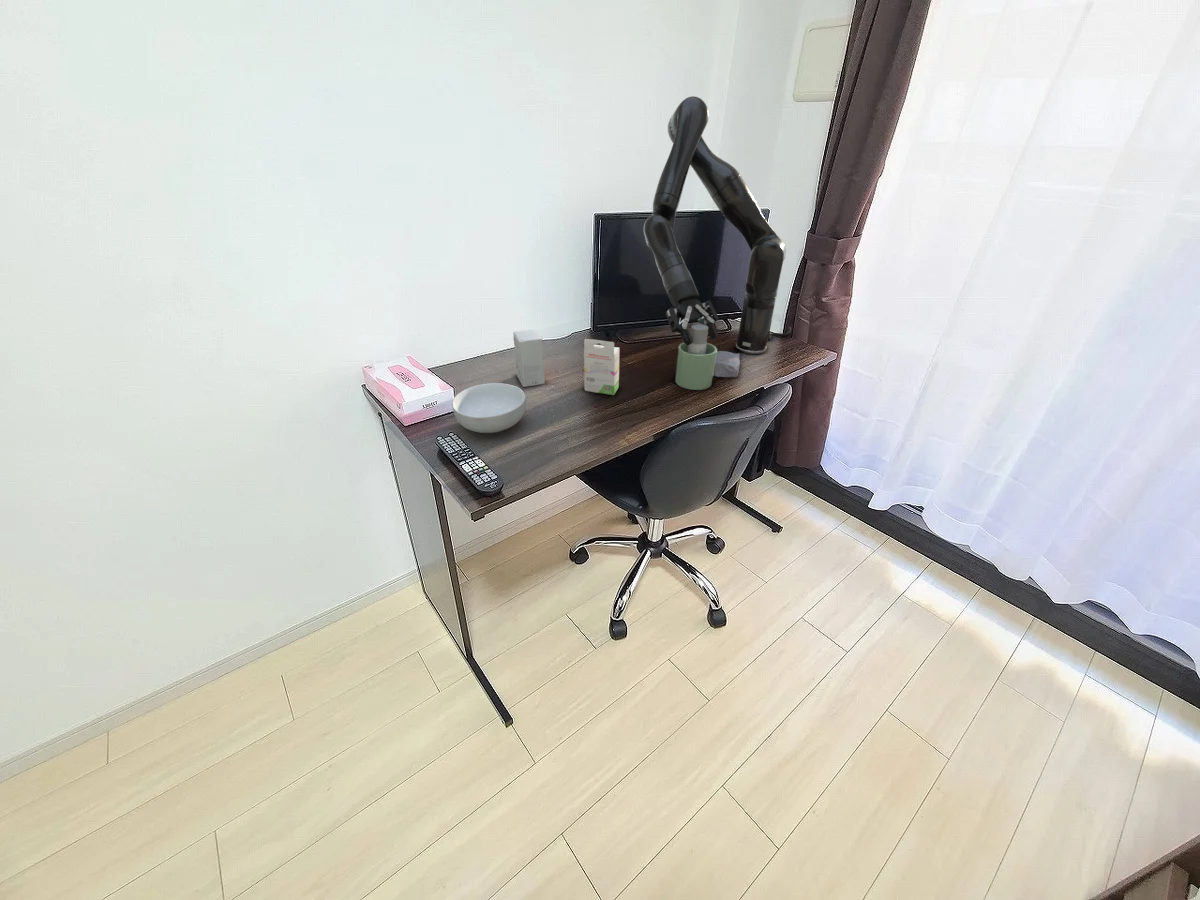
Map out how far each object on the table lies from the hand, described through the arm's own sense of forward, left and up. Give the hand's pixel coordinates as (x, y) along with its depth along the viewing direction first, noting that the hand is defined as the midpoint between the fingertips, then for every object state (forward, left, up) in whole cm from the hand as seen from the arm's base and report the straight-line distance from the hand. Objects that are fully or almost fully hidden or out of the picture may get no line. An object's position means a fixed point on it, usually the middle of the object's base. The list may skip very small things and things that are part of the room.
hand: (702, 341), depth 131 cm
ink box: (+22, -16, -13) cm, 30 cm away
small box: (+32, -34, -13) cm, 48 cm away
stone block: (-13, -1, -13) cm, 18 cm away
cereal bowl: (+54, -21, -13) cm, 59 cm away
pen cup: (0, -1, -12) cm, 13 cm away
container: (0, -2, -12) cm, 12 cm away
